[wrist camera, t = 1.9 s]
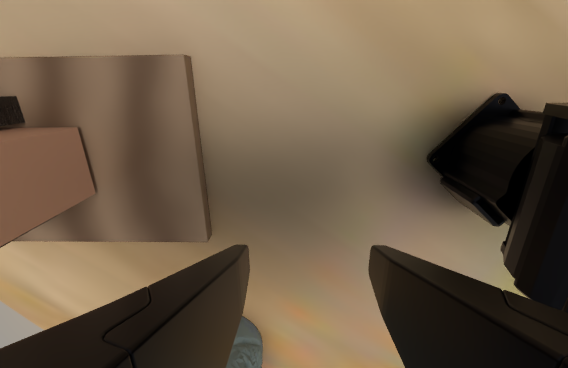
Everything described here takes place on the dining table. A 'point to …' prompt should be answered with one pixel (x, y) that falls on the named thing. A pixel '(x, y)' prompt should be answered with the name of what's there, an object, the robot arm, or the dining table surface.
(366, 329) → the dining table surface
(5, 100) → the grey block
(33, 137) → the terracotta peg
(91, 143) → the walnut board
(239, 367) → the grey embossed cylinder
